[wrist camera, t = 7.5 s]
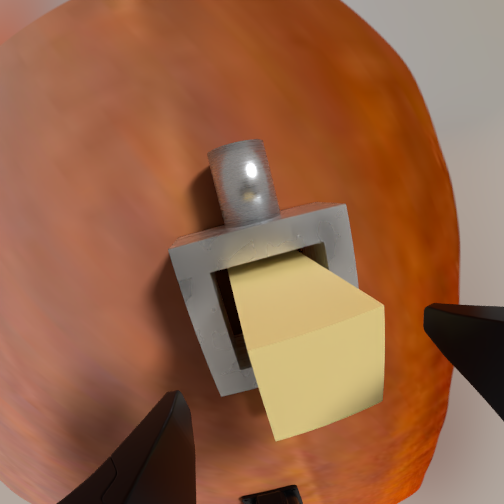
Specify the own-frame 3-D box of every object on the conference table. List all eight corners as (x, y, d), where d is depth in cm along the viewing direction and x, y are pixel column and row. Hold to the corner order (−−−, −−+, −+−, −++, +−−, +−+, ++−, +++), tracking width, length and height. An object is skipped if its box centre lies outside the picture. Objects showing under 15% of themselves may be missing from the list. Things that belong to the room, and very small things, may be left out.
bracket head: (341, 366, 19) (364, 396, 15) (234, 400, 18) (240, 438, 15) (301, 139, 16) (326, 123, 12) (161, 171, 15) (145, 162, 11)
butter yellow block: (301, 305, 18) (382, 400, 8) (242, 322, 17) (275, 441, 8) (290, 246, 17) (384, 305, 7) (226, 263, 16) (247, 351, 7)
